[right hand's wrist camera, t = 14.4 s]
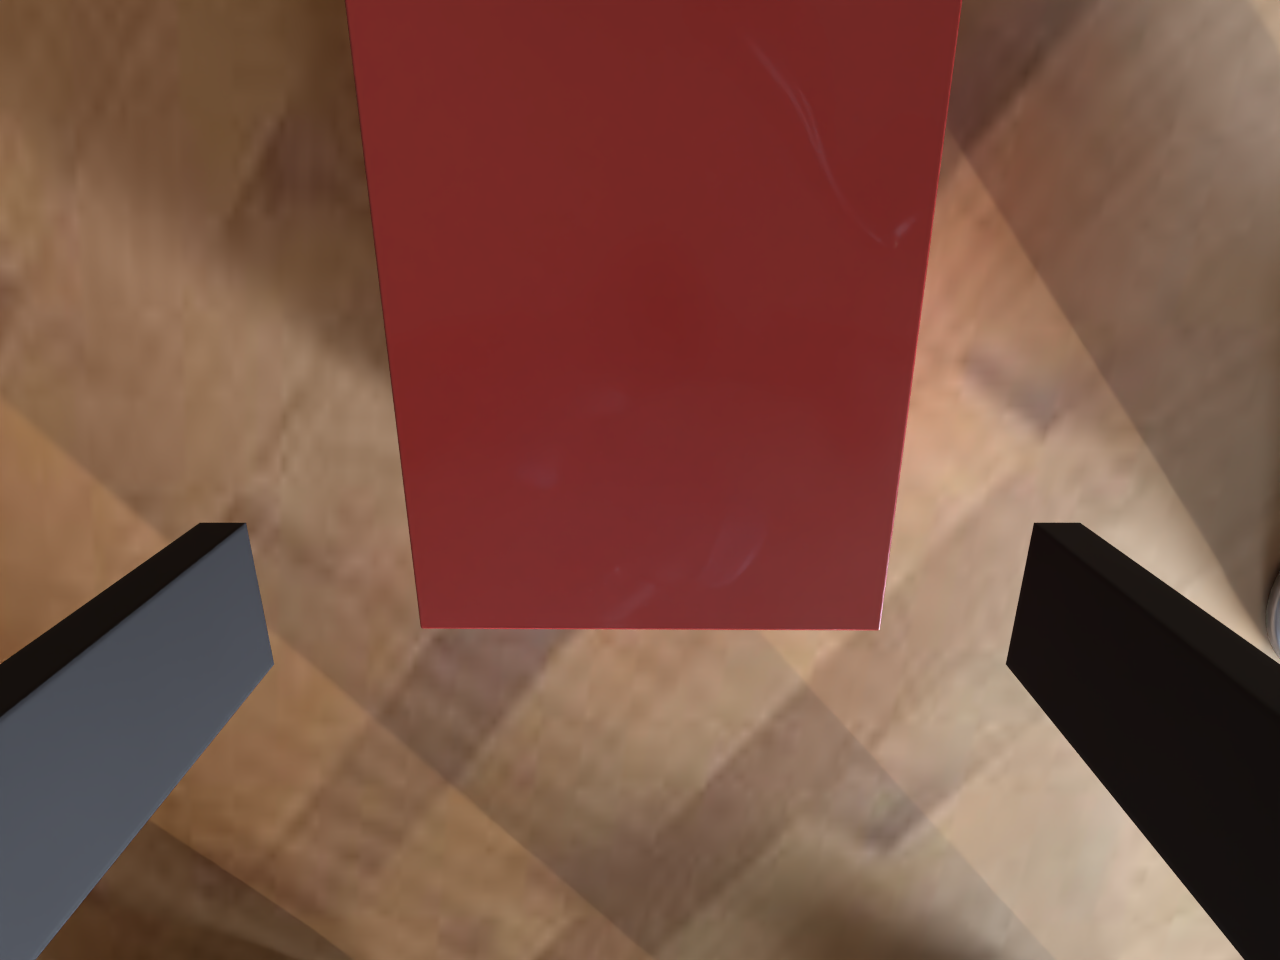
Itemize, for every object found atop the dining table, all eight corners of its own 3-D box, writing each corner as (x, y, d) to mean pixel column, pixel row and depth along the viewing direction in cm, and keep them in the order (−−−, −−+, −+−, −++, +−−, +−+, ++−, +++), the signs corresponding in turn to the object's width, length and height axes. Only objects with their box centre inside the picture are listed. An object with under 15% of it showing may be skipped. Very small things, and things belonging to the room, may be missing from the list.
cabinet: (471, -39, 24) (312, -257, 12) (830, -40, 23) (998, -260, 12) (505, 468, 30) (419, 629, 18) (792, 469, 29) (880, 631, 18)
